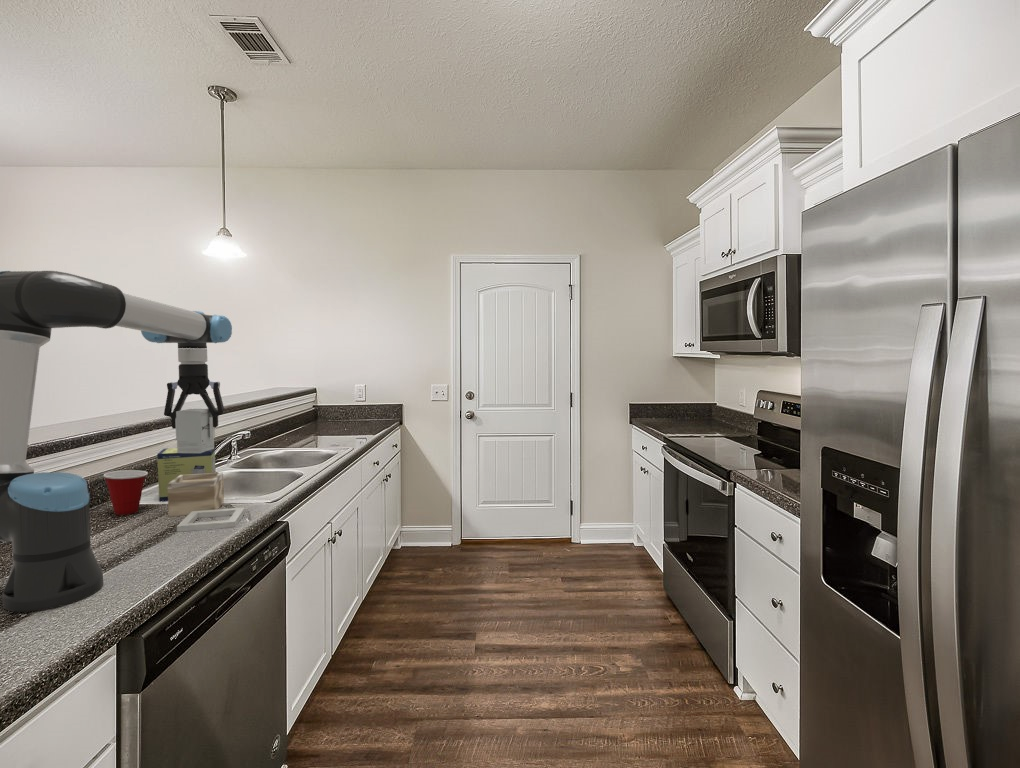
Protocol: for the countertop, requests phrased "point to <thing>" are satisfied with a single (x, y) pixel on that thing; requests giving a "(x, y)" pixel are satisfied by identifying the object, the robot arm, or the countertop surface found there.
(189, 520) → the white flat square frame
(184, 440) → the supplement box
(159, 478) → the protein box
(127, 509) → the plastic cup
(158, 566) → the countertop surface
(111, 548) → the countertop surface
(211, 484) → the tray
